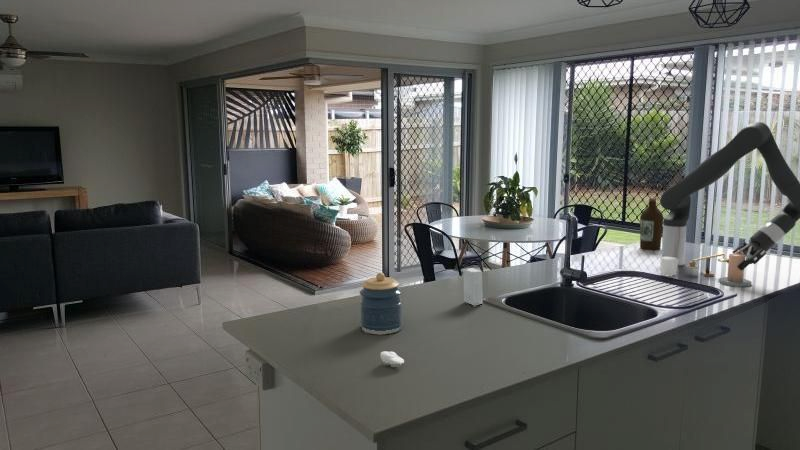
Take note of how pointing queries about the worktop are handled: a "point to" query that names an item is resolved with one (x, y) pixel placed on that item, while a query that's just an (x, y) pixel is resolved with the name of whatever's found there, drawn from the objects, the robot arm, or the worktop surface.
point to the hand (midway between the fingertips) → (733, 266)
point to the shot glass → (669, 265)
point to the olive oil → (651, 227)
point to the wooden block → (735, 268)
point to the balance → (707, 272)
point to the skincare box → (473, 286)
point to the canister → (381, 304)
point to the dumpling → (391, 358)
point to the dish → (739, 284)
